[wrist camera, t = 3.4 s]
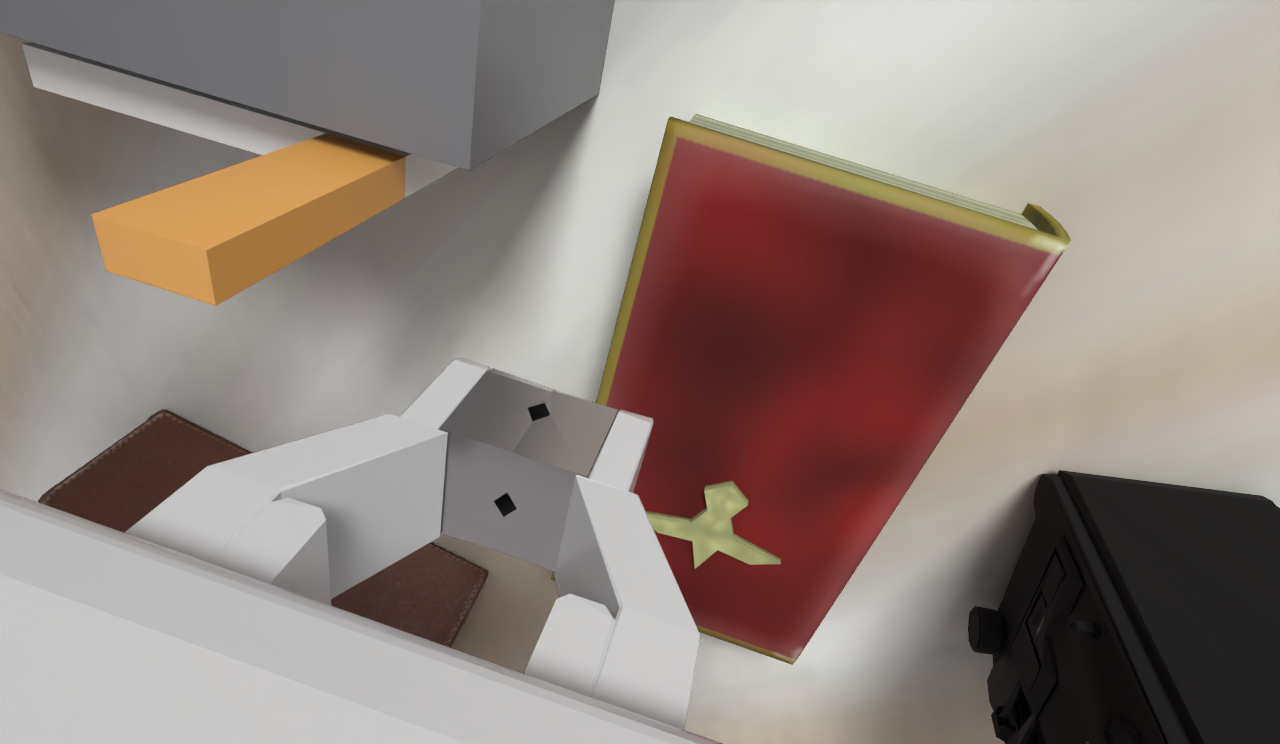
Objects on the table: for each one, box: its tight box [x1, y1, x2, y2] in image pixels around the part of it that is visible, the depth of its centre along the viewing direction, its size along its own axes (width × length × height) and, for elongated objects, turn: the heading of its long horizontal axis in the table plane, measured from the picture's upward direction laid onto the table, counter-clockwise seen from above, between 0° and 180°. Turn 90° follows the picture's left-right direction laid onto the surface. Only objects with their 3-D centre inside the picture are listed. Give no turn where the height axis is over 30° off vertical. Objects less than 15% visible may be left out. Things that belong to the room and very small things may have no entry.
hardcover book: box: [552, 114, 1071, 664], centre depth 26 cm, size 12×21×4 cm, turn 166°
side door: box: [22, 42, 459, 306], centre depth 17 cm, size 1×10×14 cm, turn 78°
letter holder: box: [38, 410, 488, 648], centre depth 33 cm, size 10×20×14 cm, turn 65°
